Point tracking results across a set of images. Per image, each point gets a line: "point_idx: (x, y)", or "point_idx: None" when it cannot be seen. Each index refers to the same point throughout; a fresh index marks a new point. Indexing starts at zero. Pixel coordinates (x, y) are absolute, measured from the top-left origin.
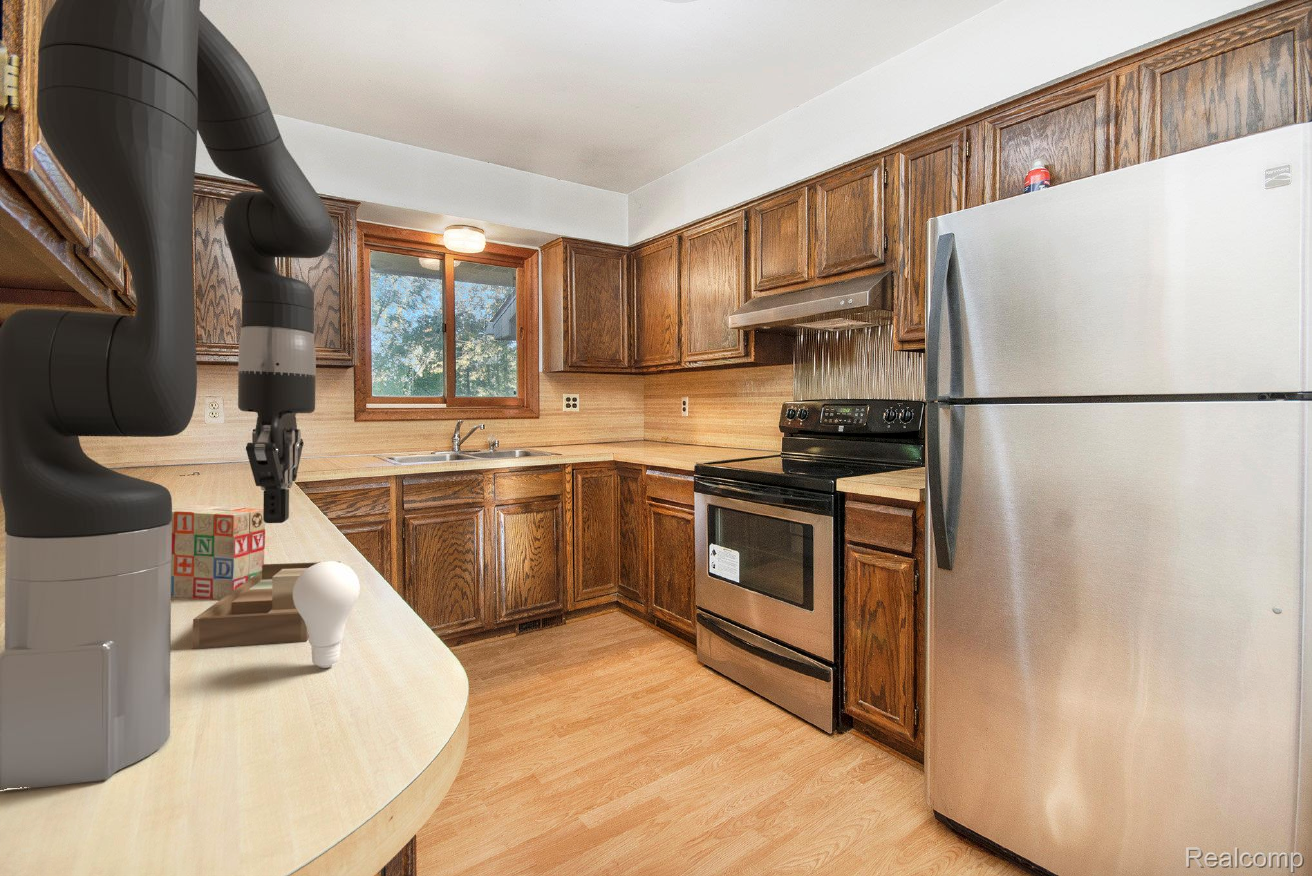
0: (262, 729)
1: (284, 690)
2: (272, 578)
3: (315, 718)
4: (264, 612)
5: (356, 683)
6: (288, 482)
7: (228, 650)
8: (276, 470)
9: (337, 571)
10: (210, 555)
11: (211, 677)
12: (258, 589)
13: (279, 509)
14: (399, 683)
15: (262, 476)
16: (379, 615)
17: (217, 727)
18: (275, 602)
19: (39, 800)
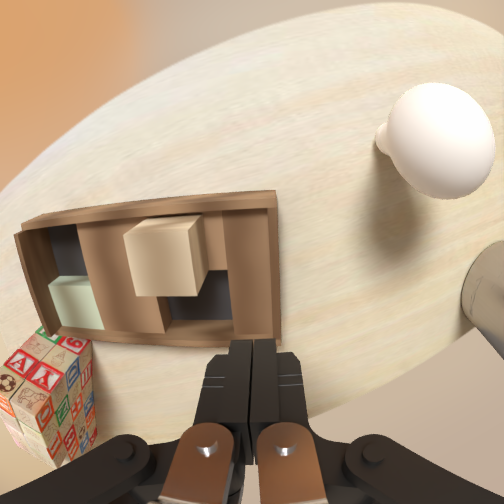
0: (500, 175)
1: None
2: (197, 294)
3: None
4: None
5: None
6: (234, 450)
7: (293, 282)
8: (462, 480)
9: (487, 120)
10: (67, 396)
11: (383, 264)
12: (103, 318)
13: (296, 375)
14: (438, 56)
15: (373, 501)
16: (154, 114)
17: (489, 213)
18: (205, 269)
19: None
